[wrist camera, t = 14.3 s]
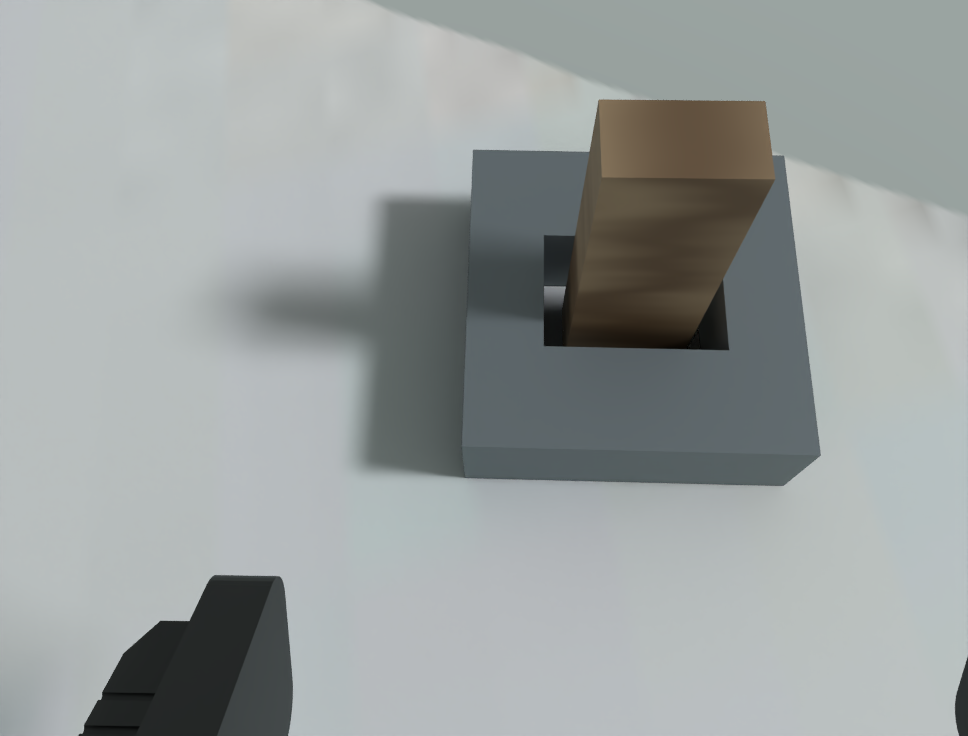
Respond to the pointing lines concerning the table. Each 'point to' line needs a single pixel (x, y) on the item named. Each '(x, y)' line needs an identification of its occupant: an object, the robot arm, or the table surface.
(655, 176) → the slat
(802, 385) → the grey square socket block
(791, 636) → the table surface
